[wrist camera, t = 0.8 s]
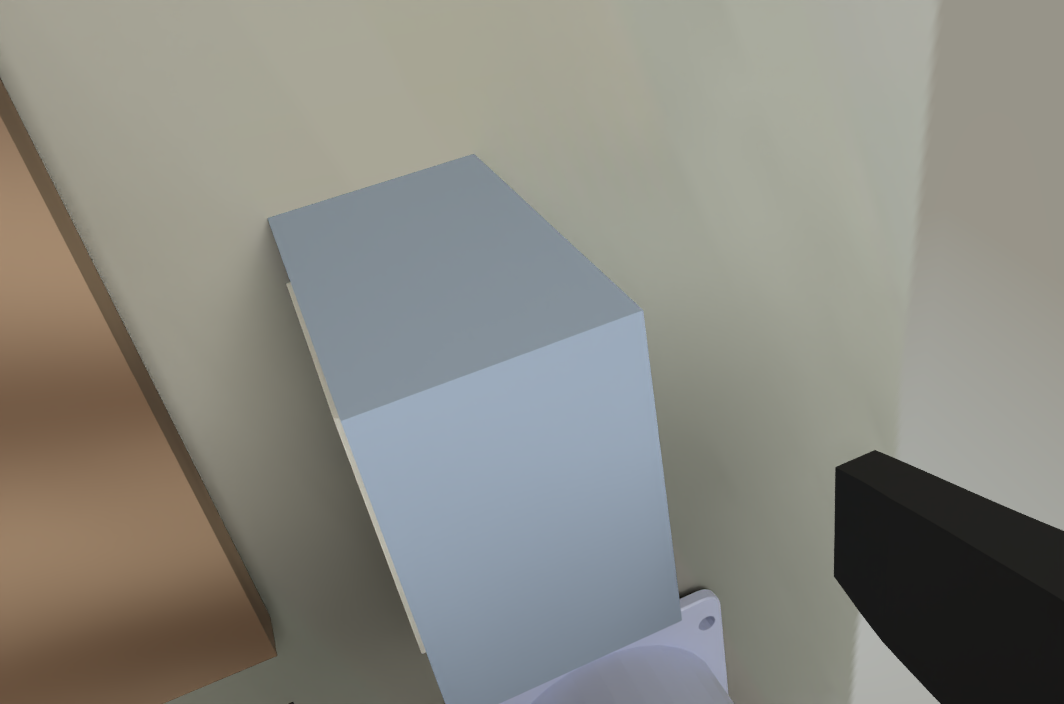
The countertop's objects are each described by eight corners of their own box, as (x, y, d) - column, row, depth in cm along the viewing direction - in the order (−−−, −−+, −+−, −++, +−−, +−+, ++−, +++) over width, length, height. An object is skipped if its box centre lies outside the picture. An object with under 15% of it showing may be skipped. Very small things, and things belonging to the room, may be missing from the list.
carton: (473, 153, 17) (642, 310, 12) (528, 402, 20) (682, 620, 15) (262, 218, 16) (334, 424, 11) (355, 468, 20) (448, 726, 14)
